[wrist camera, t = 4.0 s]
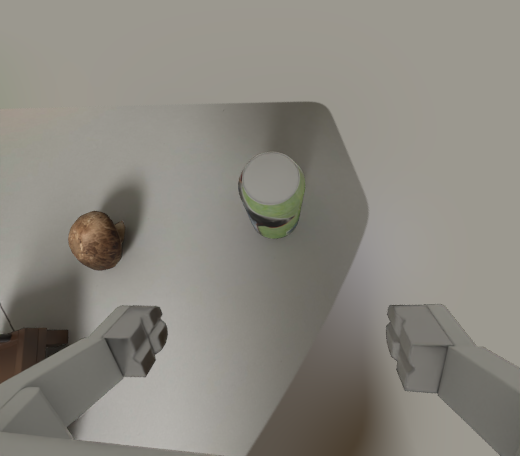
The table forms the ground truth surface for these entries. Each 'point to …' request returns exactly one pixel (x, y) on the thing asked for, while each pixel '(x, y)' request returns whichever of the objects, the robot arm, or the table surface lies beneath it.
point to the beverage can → (272, 193)
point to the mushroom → (96, 240)
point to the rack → (26, 349)
